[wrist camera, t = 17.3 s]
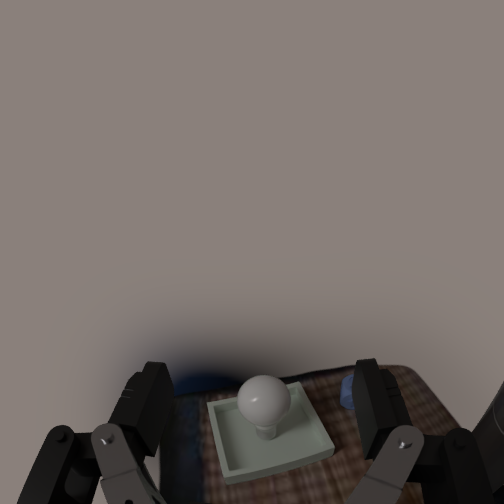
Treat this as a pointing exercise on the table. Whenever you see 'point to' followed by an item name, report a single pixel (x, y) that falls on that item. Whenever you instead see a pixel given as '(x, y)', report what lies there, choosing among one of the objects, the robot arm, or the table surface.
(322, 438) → the parts tray
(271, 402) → the lightbulb
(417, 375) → the table surface
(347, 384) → the decorative dice
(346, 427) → the table surface
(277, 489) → the table surface
